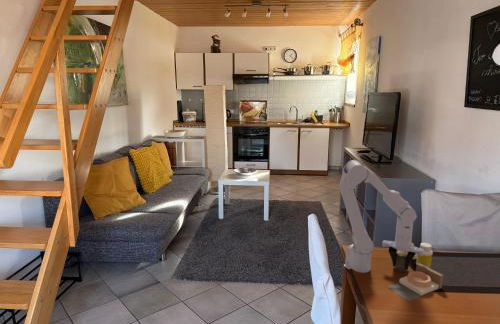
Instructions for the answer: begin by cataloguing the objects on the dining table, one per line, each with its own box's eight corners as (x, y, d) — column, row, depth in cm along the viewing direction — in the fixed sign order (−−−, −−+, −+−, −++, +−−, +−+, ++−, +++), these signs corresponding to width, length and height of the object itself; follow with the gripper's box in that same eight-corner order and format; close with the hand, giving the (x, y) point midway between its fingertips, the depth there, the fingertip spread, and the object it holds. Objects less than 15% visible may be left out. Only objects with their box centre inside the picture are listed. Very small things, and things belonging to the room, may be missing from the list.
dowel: (392, 270, 134) (393, 254, 132) (399, 268, 136) (400, 252, 134) (400, 275, 130) (402, 258, 129) (408, 272, 132) (409, 256, 131)
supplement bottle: (432, 271, 133) (435, 248, 131) (417, 270, 134) (420, 247, 132) (428, 264, 138) (431, 242, 136) (414, 263, 139) (416, 241, 137)
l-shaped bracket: (385, 289, 121) (387, 274, 120) (417, 277, 129) (419, 263, 127) (408, 303, 113) (410, 287, 112) (441, 290, 120) (443, 275, 119)
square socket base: (399, 282, 124) (400, 273, 123) (415, 276, 128) (416, 267, 127) (421, 295, 116) (422, 286, 115) (438, 288, 120) (439, 279, 119)
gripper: (381, 234, 130) (378, 266, 133) (422, 243, 122) (419, 277, 125) (385, 228, 136) (383, 258, 139) (425, 236, 128) (422, 269, 131)
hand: (400, 267), depth 132 cm, fingers closed on dowel, 4 cm apart
